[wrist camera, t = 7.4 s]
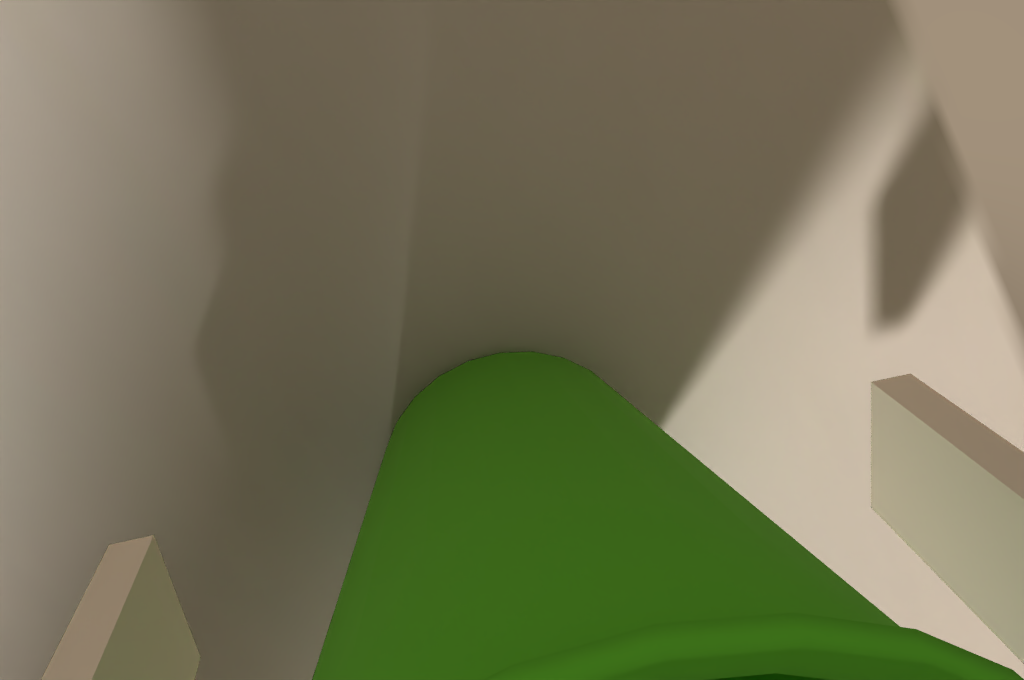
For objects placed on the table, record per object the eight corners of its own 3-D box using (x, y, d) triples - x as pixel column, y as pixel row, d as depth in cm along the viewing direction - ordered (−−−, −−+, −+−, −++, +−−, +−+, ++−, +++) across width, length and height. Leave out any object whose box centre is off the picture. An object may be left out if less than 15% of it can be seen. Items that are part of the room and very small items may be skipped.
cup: (576, 156, 16) (928, 410, 6) (785, 491, 19) (1241, 1026, 9) (191, 423, 17) (-102, 1066, 6) (457, 701, 20) (538, 1411, 10)
